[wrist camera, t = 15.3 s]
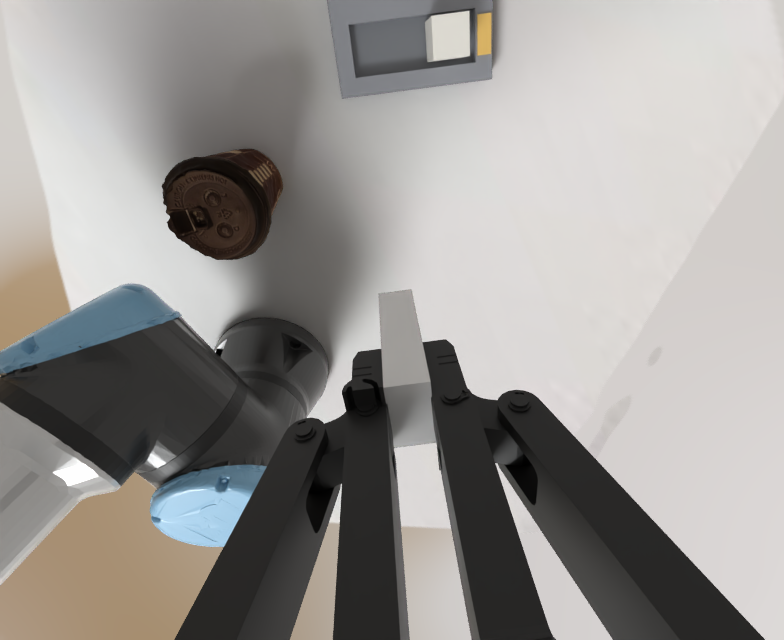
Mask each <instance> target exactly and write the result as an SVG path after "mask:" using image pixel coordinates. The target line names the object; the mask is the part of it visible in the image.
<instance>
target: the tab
mask: <svg viewBox="0 0 784 640" xmlns="http://www.w3.org/2000/svg"><path fill="white" fill-rule="evenodd" d="M425 33H426V50H427V62H433V61H441V60H449V59H456V58H462V57H467V56H470V20H469V11H464V12H457V13H449V14H442V15H434V16H431V17H430V18H429V19H428V20H427V21H426V22H425Z"/></svg>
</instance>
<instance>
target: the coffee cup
mask: <svg viewBox="0 0 784 640" xmlns="http://www.w3.org/2000/svg"><path fill="white" fill-rule="evenodd" d="M162 188H163V199H164V202H163V203H164V204H165V205H166V206H167V210H166V213H167V214H168V215H169V216H170V219H169V221H168V222H167V223H168V227H169V229H170V230H171V231H172V232H174V233H175V234H176V237H177V238H178V239H181V241H183V242H185V243H186V244H188V245H189V246H190V247H191V248H193V249H195V250H197V251H199V252H200V253H202V254H204V255H205V256H210V257H212V258H214V259H216V260H224V259H225V260H233V259H240V258H243V257H246V256H248V255H251V254H253V253H254V252H256V251H257V249H258V248H259V247H260V246H261V245H262V244H263V243H264V241H265V239H266V238H267V235H268V233H269V228H270V225H271V216H272V214H273V211H274V209H275V207H276V205H277V202H278V199H279V197H280V195H281V193H282V189H283V182H282V178H281V175H280V173H279V171H278V169H277V168H276V166H275V165H274V163H273V162H272V161H271V160H270V159H269V158H268V157H267V156H265V155H264V154H262V153H260V152H259V151H257V150H254V149H240V150H233V151H230V152H223V153H218V154H216V155H210V156H206V157H194V158H191V159H188V160H184V161H182V162H180V163H178V164H177V165H176V166H175V167H174V168H173V169H172V170H171V171H170V172H169V174H168V175H167V176H166V178H165V182H164V184H163V185H162Z"/></svg>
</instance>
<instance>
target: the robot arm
mask: <svg viewBox="0 0 784 640" xmlns="http://www.w3.org/2000/svg"><path fill="white" fill-rule="evenodd" d="M379 313H380V332H381V349H376V350H369V351H361V352H358V353H357V355H356V356H355V358H354V359H353V367H352V369H353V370H352V380H351V381H349V382H348V383H347V384H346V385H345V386H344V388H343V390H342V395H343V399H344V403H345V407H346V412H345V413H344V414H343V415H342V416H341V417H339V418H337V419H335V420H333V421H331V422H328V423H325V424H324V423H323V422H322V421H320V420H319V419H315V418H307V416H308V415H309V413H310V412H311V410H312V409H313V407H314V406H315V404H316V403H317V401H318V400H319V399H320V398H321V396H322V394H323V392H324V390H325V387H326V383H327V377H328V360H327V357H326V354H325V352H324V350H323V348H322V346H321V345H320V343H319V342H318V341H317V340H316V339H315V338H314V337H313V336H312V335H311V334H310V333H309V332H307V331H306V330H304V329H303V328H301V327H299V326H297V325H295V324H293V323H290V322H287V321H284V320H279V319H273V318H257V319H251V320H247V321H244V322H241V323H239V324H237V325H235V326H233V327H232V328H230V329H229V330H228V331H226V332H225V333H224V334H223V336H222V337H221V338H220V340H219V342H218V343H217V345H216V347H215V349H214V350H213V349H212V348H211V347H210V346H209V345H208V344H207V343H206V342H205V341H204V340H203V339H202V338H201V337H200V336H199V335H198V334H197V333H196V332H195V331H194V330H193V329H192V328H191V327H190V326H189V325H188V324H187V323H186V322H185V321H184V319H183V318H182V317H181V314H180V313H179V312H178V311H174V310H173V309H172V308H171V307H169V306H168V305H167V304H166V303H165V302H164V301H163V300H162V299H160V298H159V297H158V296H157V295H156V294H155V293H154V292H153V291H152V290H150V289H149V288H147V287H145V286H143V285H140V284H125V285H121V286H119V287H117V288H114V289H112V290H111V291H109V292H107V293H105V294H103V295H101V296H99V297H97V298H95V299H93V300H92V301H90V302H88V303H86V304H84V305H82V306H81V307H79V308H77V309H75V310H73V311H72V312H70V313H68V314H66V315H64V316H62V317H60V318H59V319H57V320H55V321H53V322H51V323H49V324H48V325H46V326H44V327H42V328H40V329H39V330H37V331H35V332H33V333H31V334H30V335H28V336H26V337H24V338H23V339H21V340H19V341H18V342H16V343H14V344H12V345H10V346H9V347H7V348H5V349H3V350H1V351H0V375H1V377H0V585H1V584H2V583H3V582H4V581H5V580H6V579H7V578H8V577H9V576H10V575H11V573H12V572H13V571H14V570H15V569H16V568H17V567H18V566H19V565H20V564H21V563H22V562H23V561H24V560H25V559H26V558H27V556H28V555H29V554H30V553H31V552H32V551H33V550H34V549H35V548H36V547H37V546H38V545H39V544H40V543H41V542H42V540H43V539H44V538H45V537H46V536H47V535H48V534H49V533H50V532H51V531H52V530H53V529H54V528H55V527H56V526H57V525H58V524H59V522H60V521H61V520H62V519H63V518H64V517H65V516H66V515H67V514H68V513H69V512H70V511H71V510H72V509H73V508H74V507H75V506H76V505H77V503H78V502H79V501H81V500H83V499H85V498H87V497H89V496H94V495H99V494H103V493H108V492H113V491H116V490H118V489H119V488H120V487H121V486H122V485H123V483H124V482H125V481H126V480H127V479H128V478H129V477H130V476H131V475H132V473H134V472H136V473H137V474H139V475H140V476H142V477H143V478H144V479H146V480H147V481H148V482H150V483H151V484H153V485H154V486H155V487H156V488H157V490H156V491H155V493H154V494H153V495H152V498H151V501H150V502H151V507H150V513H151V515H152V516H151V520H152V522H153V523H154V525H155V526H156V527H157V528H158V529H159V530H160V531H161V532H163V533H164V534H166V535H168V536H169V537H171V538H173V539H176V540H179V541H182V542H185V543H188V544H194V545H199V546H209V547H216V546H219V547H224V548H223V550H222V552H221V553H220V555H219V557H218V559H217V561H216V563H215V565H214V567H213V568H212V570H211V572H210V574H209V576H208V578H207V580H206V581H205V583H204V585H203V587H202V589H201V591H200V593H199V595H198V596H197V598H196V600H195V602H194V604H193V606H192V608H191V610H190V611H189V614H188V615H187V617H186V619H185V621H184V623H183V625H182V626H181V628H180V630H179V632H178V634H177V636H176V638H175V640H290V637H291V634H292V631H293V628H294V625H295V622H296V619H297V616H298V613H299V610H300V607H301V604H302V601H303V598H304V595H305V592H306V589H307V586H308V583H309V580H310V577H311V574H312V571H313V568H314V565H315V562H316V559H317V556H318V553H319V550H320V547H321V544H322V541H323V538H324V535H325V532H326V529H327V526H328V523H329V520H330V517H331V514H332V511H333V508H334V505H335V502H336V499H337V496H338V493H339V490H340V485H341V484H342V495H341V512H340V530H339V547H338V563H337V580H336V596H335V614H334V631H333V640H410V639H409V627H408V613H407V600H406V588H405V574H404V561H403V548H402V535H401V522H400V509H399V496H398V483H397V470H396V459H395V453H394V448H398V447H406V446H413V445H421V444H429V443H437V451H438V461H439V470H441V475H442V480H443V485H444V491H445V496H446V502H447V507H448V513H449V518H450V524H451V529H452V535H453V540H454V545H455V551H456V556H457V562H458V567H459V572H460V578H461V584H462V589H463V594H464V599H465V605H466V611H467V616H468V622H469V626H470V633H471V637H472V640H556V639H555V638H554V637H553V635H552V634H551V631H550V629H549V626H548V623H547V620H546V617H545V614H544V611H543V608H542V605H541V602H540V599H539V596H538V593H537V590H536V587H535V584H534V581H533V578H532V575H531V572H530V568H529V566H528V563H527V559H526V556H525V553H524V550H523V547H522V544H521V541H520V538H519V535H518V532H517V529H516V526H515V523H514V520H513V517H512V514H511V510H510V507H509V504H508V501H507V498H506V495H505V492H504V489H503V486H502V483H501V480H500V477H499V474H498V471H497V468H496V465H495V463H498V465H499V468H500V469H501V471H502V472H503V474H504V475H505V477H506V478H507V480H508V481H509V483H510V484H511V486H512V487H513V489H514V490H515V492H516V493H517V495H518V496H519V498H520V499H521V501H522V502H523V504H524V505H525V507H526V508H527V510H528V511H529V513H530V514H531V516H532V518H533V519H534V521H535V522H536V524H537V525H538V527H539V528H540V530H541V531H542V533H543V534H544V536H545V537H546V539H547V540H548V542H549V543H550V545H551V546H552V548H553V549H554V551H555V552H556V554H557V555H558V557H559V558H560V560H561V561H562V563H563V564H564V566H565V568H566V569H567V570H568V572H569V574H570V575H571V577H572V578H573V580H574V581H575V583H576V584H577V586H578V587H579V589H580V590H581V592H582V593H583V595H584V596H585V598H586V599H587V601H588V602H589V604H590V605H591V607H592V608H593V610H594V611H595V613H596V614H597V616H598V618H599V619H600V620H601V622H602V624H603V625H604V627H605V628H606V630H607V631H608V632H609V634H610V636H611V637H612V639H613V640H765V639H764V638H763V637H762V636H761V635H760V634H759V633H758V632H757V631H756V630H755V629H754V628H753V626H751V624H750V623H749V622H748V621H747V620H746V619H745V618H744V617H743V616H742V615H741V614H740V613H739V612H738V610H737V609H736V608H735V607H734V606H733V605H732V604H731V603H730V602H729V601H728V600H727V599H726V598H725V597H724V596H723V594H721V592H720V591H719V590H718V589H717V588H716V587H715V586H714V585H713V584H712V583H711V582H710V581H709V580H708V579H707V577H706V576H705V575H704V574H703V573H702V572H701V571H700V570H699V569H698V568H697V567H696V566H695V565H694V564H693V563H692V562H691V560H690V559H689V558H688V557H687V556H686V555H685V554H684V553H683V552H682V551H681V550H680V549H679V548H678V546H677V545H675V543H674V542H673V541H672V540H671V539H670V538H669V537H668V536H667V535H666V534H665V533H664V532H663V531H662V529H661V528H660V527H659V526H658V525H657V524H656V523H655V522H654V521H653V520H652V519H651V518H650V517H649V516H648V515H647V514H646V512H644V511H643V509H642V508H641V507H640V506H639V505H638V504H637V503H636V502H635V501H634V500H633V499H632V498H631V497H630V495H629V494H628V493H627V492H626V491H625V490H624V489H623V488H622V487H621V486H620V485H619V484H618V483H617V482H616V481H615V480H614V478H613V477H612V476H611V475H610V474H609V473H608V472H607V471H606V470H605V469H604V468H603V467H602V466H601V465H600V463H598V461H597V460H596V459H595V458H594V457H593V456H592V455H591V454H590V453H589V452H588V451H587V450H586V449H585V447H584V446H583V445H582V444H581V443H580V442H579V441H578V440H577V439H576V438H575V437H574V436H573V435H572V434H571V433H570V431H569V430H568V429H567V428H566V427H565V426H564V425H563V424H562V423H561V422H560V421H559V420H558V419H557V418H556V417H555V416H554V414H553V413H552V412H551V411H550V410H549V409H548V408H547V407H546V406H545V405H544V404H543V403H542V402H541V401H540V400H539V398H537V397H536V396H535V395H533V394H532V393H529V392H526V391H522V390H513V391H508V392H506V393H504V394H502V395H501V396H500V397H499V399H498V400H488V399H483V398H480V397H477V396H475V395H474V394H472V393H471V392H470V390H469V389H468V388H467V387H466V384H465V381H464V378H463V374H462V371H461V368H460V365H459V363H458V359H457V356H456V353H455V349H454V346H453V345H452V344H451V343H449V342H448V341H447V340H446V339H445V340H438V341H430V342H422V338H421V333H420V328H419V324H418V319H417V314H416V309H415V304H414V299H413V295H412V290H411V289H410V290H403V291H395V292H388V293H381V294H379Z"/></svg>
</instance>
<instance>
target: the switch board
mask: <svg viewBox="0 0 784 640" xmlns="http://www.w3.org/2000/svg"><path fill="white" fill-rule="evenodd" d="M327 3H328V10H329V16H330V23H331V29H332V36H333V42H334V49H335V55H336V62H337V68H338V75H339V81H340V88H341V94H342V99H343V98H351V97H359V96H367V95H374V94H382V93H390V92H397V91H405V90H413V89H421V88H428V87H436V86H444V85H451V84H459V83H467V82H475V81H482V80H490V79H492V28H493V0H327ZM464 11H469V20H470V56H467V57H462V58H456V59H449V60H441V61H433V62H427V50H426V33H425V22H426V21H427V20H428V19H429V18H430V17H431V16H434V15H442V14H449V13H457V12H464Z"/></svg>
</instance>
